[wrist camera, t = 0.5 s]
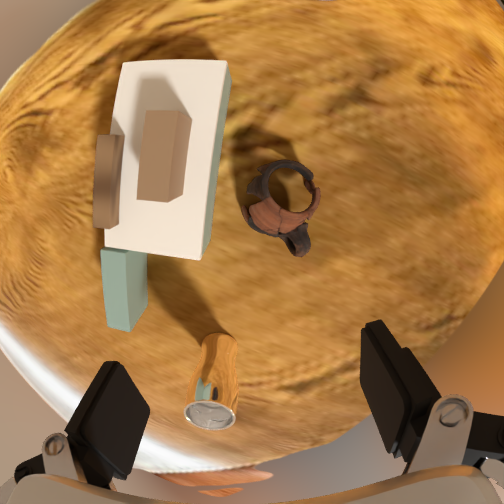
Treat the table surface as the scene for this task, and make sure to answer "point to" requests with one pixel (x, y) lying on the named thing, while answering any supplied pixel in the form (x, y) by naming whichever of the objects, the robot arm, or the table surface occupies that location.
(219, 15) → the table surface
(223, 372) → the beer glass
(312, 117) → the table surface
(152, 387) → the table surface
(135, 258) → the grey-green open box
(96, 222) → the brown rectangular block
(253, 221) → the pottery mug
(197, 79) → the lid
